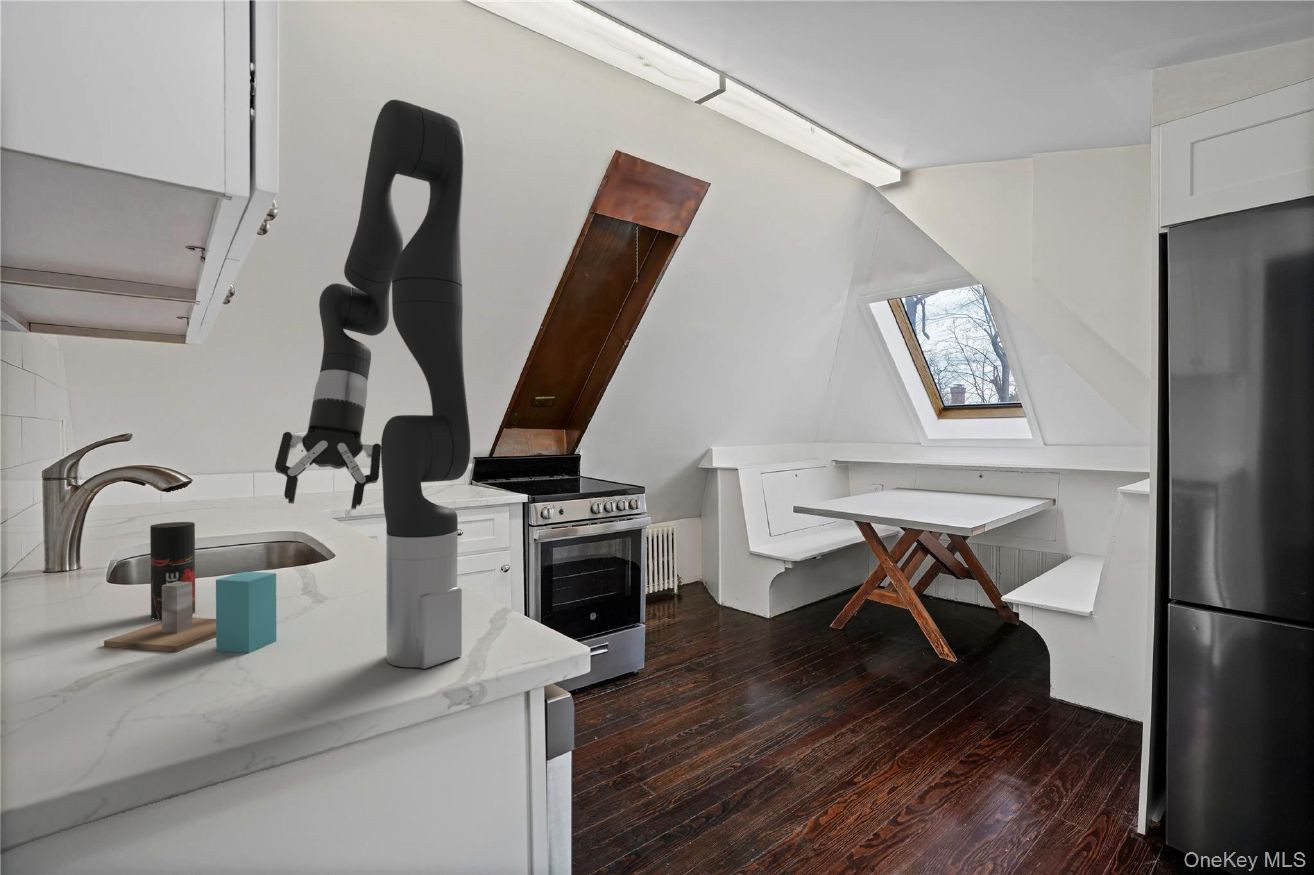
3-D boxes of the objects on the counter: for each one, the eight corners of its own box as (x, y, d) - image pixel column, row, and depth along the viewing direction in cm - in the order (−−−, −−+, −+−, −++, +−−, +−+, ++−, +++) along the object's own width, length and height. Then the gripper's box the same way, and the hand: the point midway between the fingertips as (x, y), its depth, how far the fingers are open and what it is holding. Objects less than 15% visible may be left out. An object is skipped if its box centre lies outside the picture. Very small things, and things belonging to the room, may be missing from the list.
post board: (244, 625, 104) (243, 576, 103) (176, 651, 92) (176, 596, 92) (178, 621, 106) (177, 573, 105) (103, 646, 94) (103, 591, 94)
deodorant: (158, 622, 105) (157, 528, 105) (145, 615, 109) (145, 524, 109) (200, 613, 110) (200, 524, 110) (187, 607, 114) (187, 520, 113)
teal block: (276, 640, 97) (276, 573, 97) (248, 652, 92) (248, 581, 91) (245, 638, 98) (244, 571, 97) (216, 650, 93) (215, 579, 92)
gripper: (287, 389, 98) (267, 496, 93) (389, 404, 104) (375, 506, 99) (289, 403, 104) (270, 505, 100) (385, 417, 110) (372, 513, 106)
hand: (323, 505), depth 100 cm, fingers open, 8 cm apart
